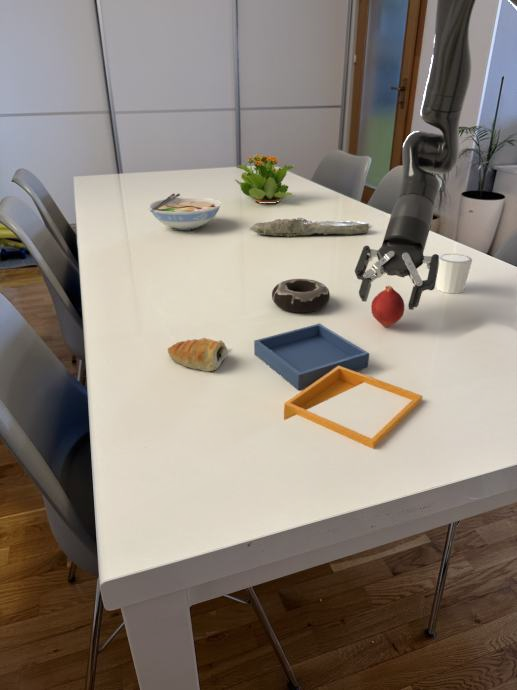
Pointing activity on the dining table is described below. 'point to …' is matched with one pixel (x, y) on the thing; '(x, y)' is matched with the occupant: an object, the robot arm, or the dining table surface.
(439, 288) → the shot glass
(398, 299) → the onion
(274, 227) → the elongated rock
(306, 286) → the donut
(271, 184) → the potted flower
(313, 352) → the blue tray
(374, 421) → the dining table surface
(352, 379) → the amber tray
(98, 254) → the dining table surface
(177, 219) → the ramen bowl
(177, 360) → the pastry
